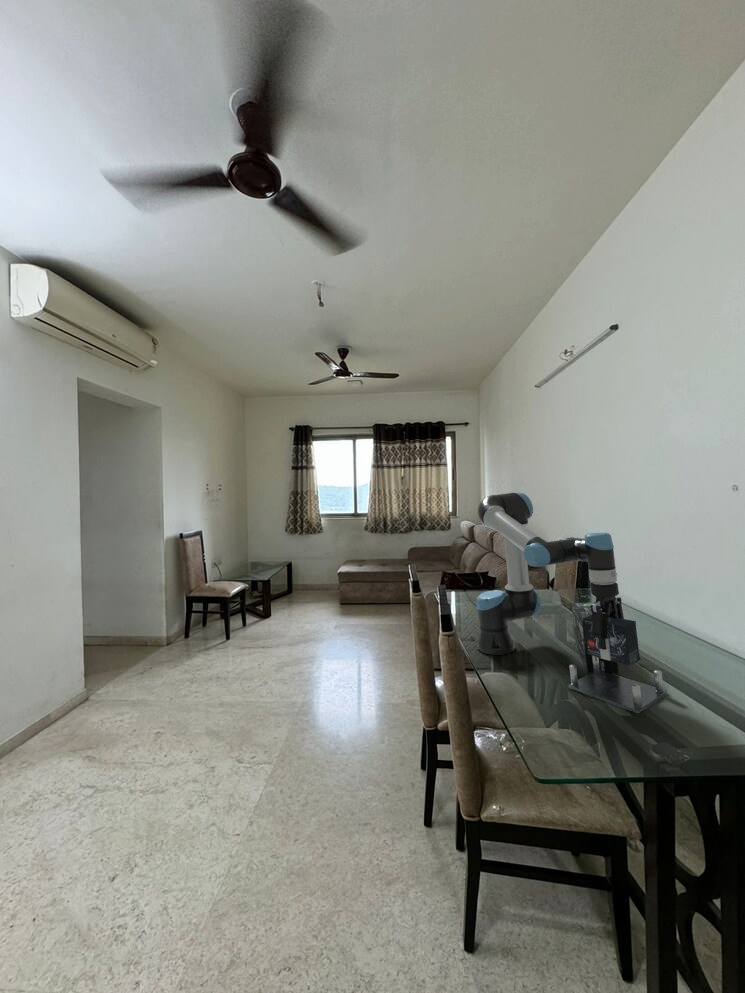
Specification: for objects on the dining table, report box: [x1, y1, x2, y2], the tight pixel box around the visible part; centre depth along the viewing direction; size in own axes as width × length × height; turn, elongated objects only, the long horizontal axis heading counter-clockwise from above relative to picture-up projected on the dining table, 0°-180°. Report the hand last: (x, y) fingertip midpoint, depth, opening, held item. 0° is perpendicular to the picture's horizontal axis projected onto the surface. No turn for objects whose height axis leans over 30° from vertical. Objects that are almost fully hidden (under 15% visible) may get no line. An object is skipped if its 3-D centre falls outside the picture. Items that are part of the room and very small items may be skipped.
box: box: [571, 601, 620, 675], centre depth 148 cm, size 23×10×19 cm, turn 162°
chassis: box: [568, 656, 668, 714], centre depth 124 cm, size 21×17×7 cm
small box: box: [583, 615, 641, 667], centre depth 124 cm, size 13×7×12 cm, turn 30°
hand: (612, 655), depth 124 cm, fingers closed on small box, 7 cm apart
